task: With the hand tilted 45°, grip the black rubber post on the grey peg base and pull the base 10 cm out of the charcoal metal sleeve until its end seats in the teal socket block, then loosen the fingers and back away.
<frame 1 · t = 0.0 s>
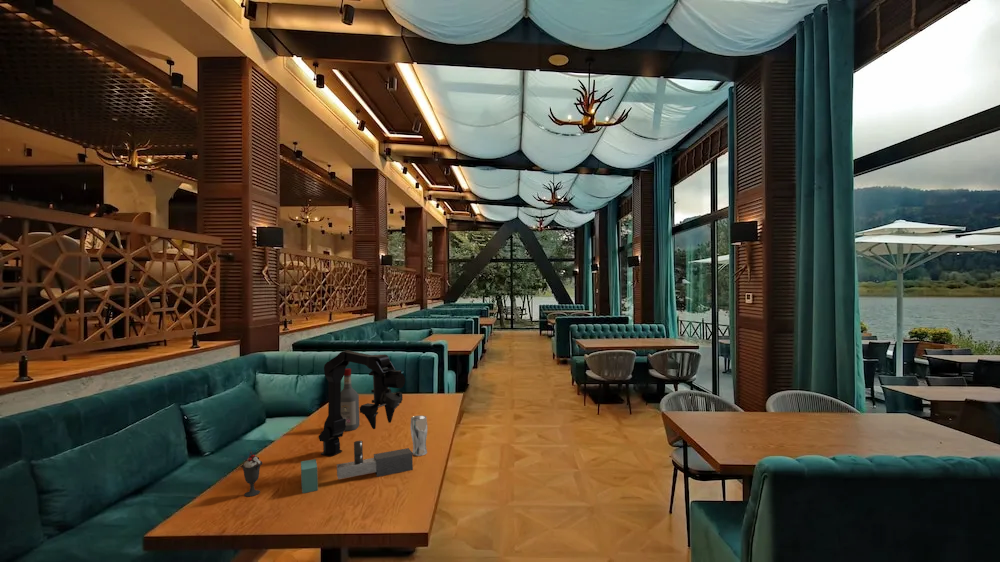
hand: (382, 425, 185), 15 cm above the table, tool pointing down, fingers open, 9 cm apart
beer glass: (419, 453, 194), on the table
sundae: (252, 494, 160), on the table
liquor: (348, 428, 234), on the table
socket block: (309, 475, 164), on the table
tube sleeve: (375, 474, 173), on the table
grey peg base: (372, 455, 173), point 7 cm above the table, slide at 0.0 cm
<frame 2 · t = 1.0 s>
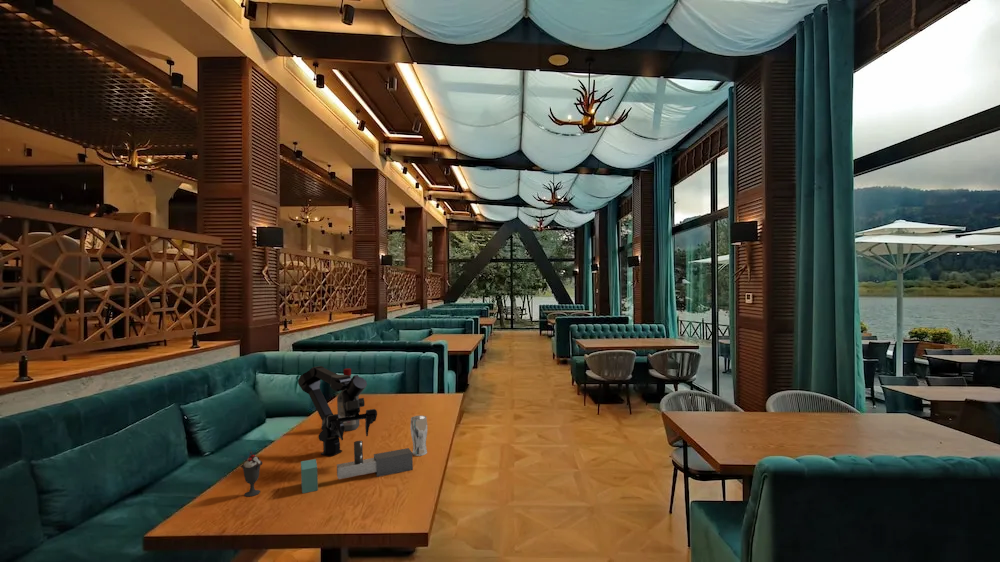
hand: (354, 437, 178), 12 cm above the table, tool tilted 45°, fingers open, 9 cm apart
nothing on the table moved.
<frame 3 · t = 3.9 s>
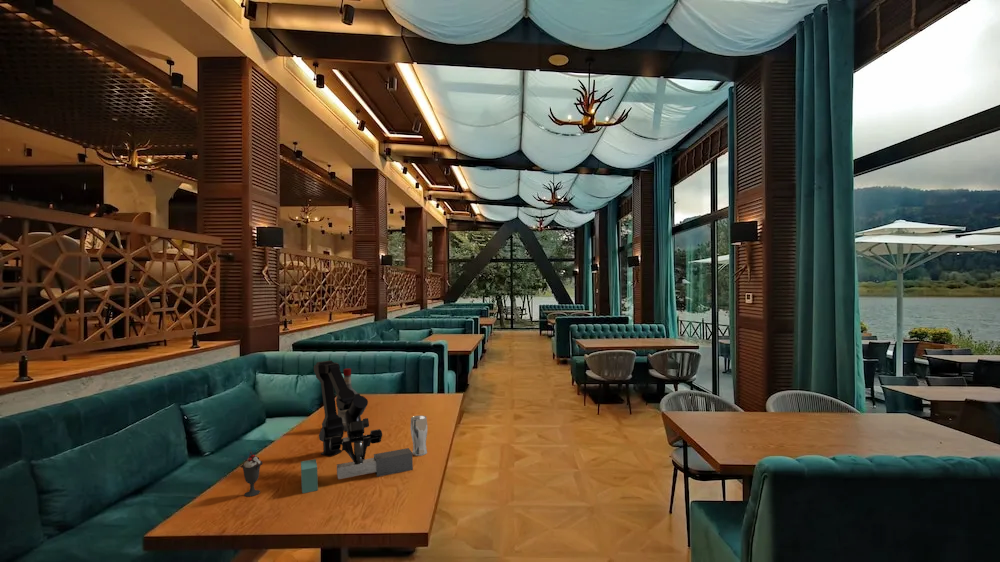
hand: (359, 460, 170), 7 cm above the table, tool tilted 45°, fingers closed on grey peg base, 3 cm apart
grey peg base: (372, 455, 173), point 7 cm above the table, slide at 0.0 cm, touching gripper
everything else where it was.
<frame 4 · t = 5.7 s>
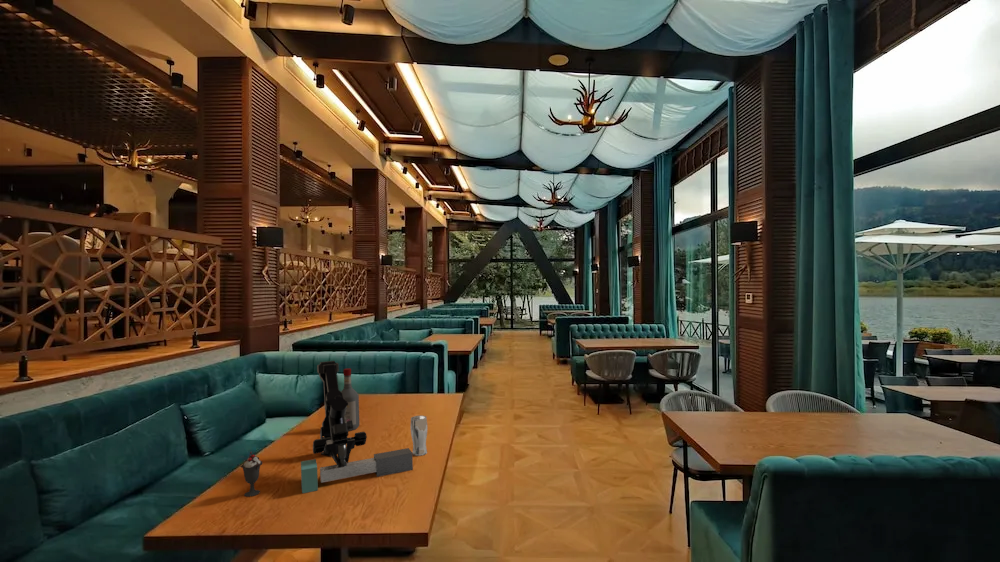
hand: (342, 463, 167), 7 cm above the table, tool tilted 45°, fingers closed on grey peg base, 3 cm apart
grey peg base: (356, 458, 171), point 7 cm above the table, slide at 5.8 cm, touching gripper
everything else where it was.
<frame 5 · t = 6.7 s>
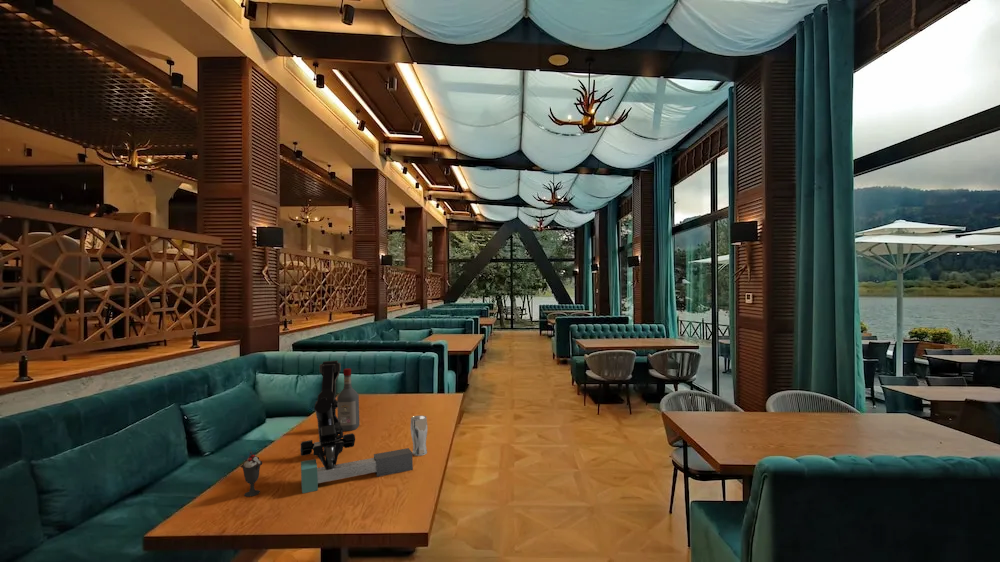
hand: (330, 465, 166), 7 cm above the table, tool tilted 45°, fingers closed on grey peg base, 3 cm apart
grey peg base: (344, 460, 169), point 7 cm above the table, slide at 10.0 cm, touching gripper
everything else where it was.
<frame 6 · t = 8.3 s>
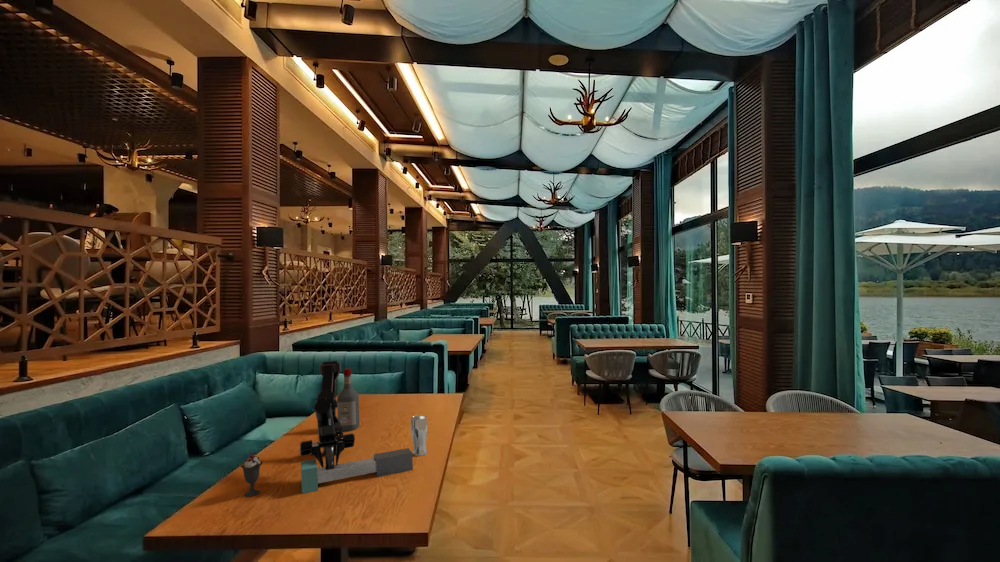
hand: (329, 465, 166), 7 cm above the table, tool tilted 45°, fingers open, 4 cm apart
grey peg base: (344, 460, 169), point 7 cm above the table, slide at 10.0 cm, touching socket block
everything else where it was.
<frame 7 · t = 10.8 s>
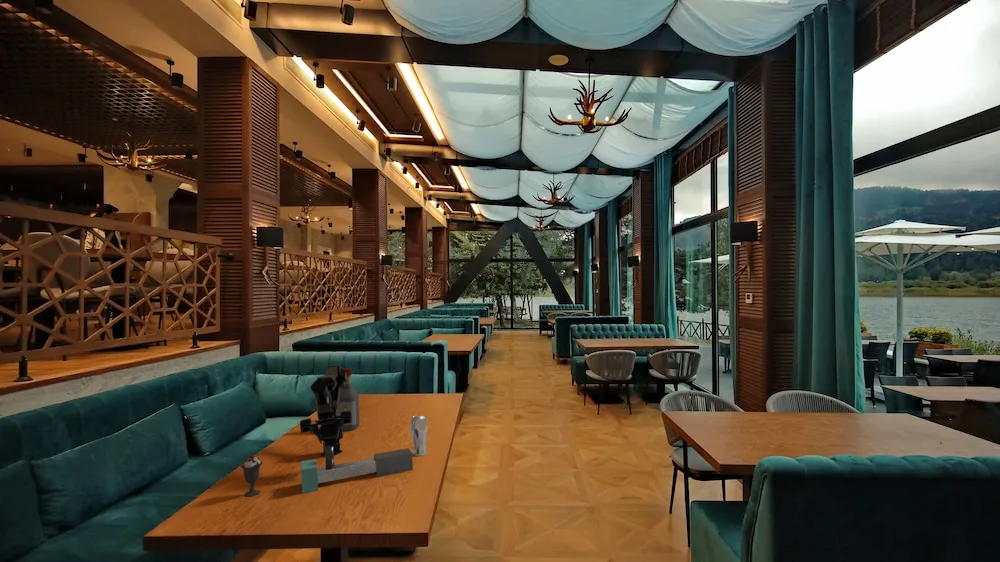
hand: (328, 441, 175), 12 cm above the table, tool tilted 40°, fingers open, 5 cm apart
nothing on the table moved.
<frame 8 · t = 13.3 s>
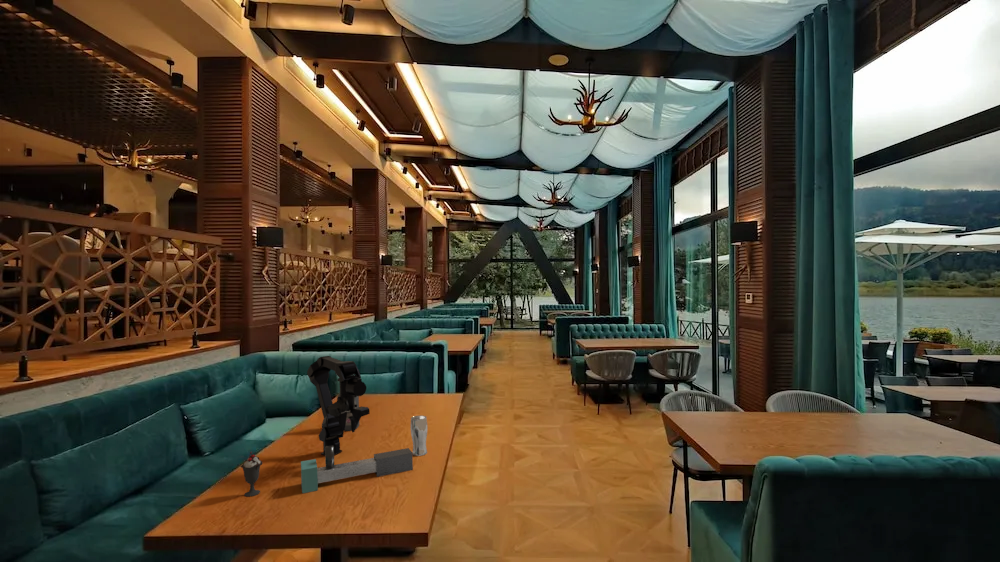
hand: (348, 431, 188), 12 cm above the table, tool pointing down, fingers open, 5 cm apart
nothing on the table moved.
at the end: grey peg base slide at 10.0 cm; the gripper is holding nothing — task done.
